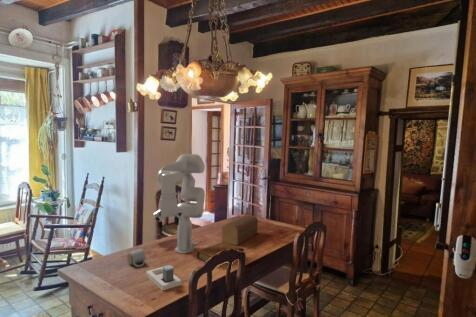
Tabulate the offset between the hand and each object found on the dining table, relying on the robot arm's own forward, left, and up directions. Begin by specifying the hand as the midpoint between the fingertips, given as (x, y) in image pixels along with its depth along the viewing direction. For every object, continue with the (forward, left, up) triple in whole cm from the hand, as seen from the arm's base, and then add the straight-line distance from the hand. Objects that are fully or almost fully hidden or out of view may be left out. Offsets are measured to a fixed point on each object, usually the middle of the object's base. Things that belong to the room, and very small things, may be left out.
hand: (168, 226), depth 166 cm
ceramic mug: (+9, -20, -26) cm, 34 cm away
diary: (-36, 0, -26) cm, 44 cm away
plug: (+6, +13, -26) cm, 29 cm away
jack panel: (+6, +7, -26) cm, 27 cm away
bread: (-70, -22, -26) cm, 78 cm away
